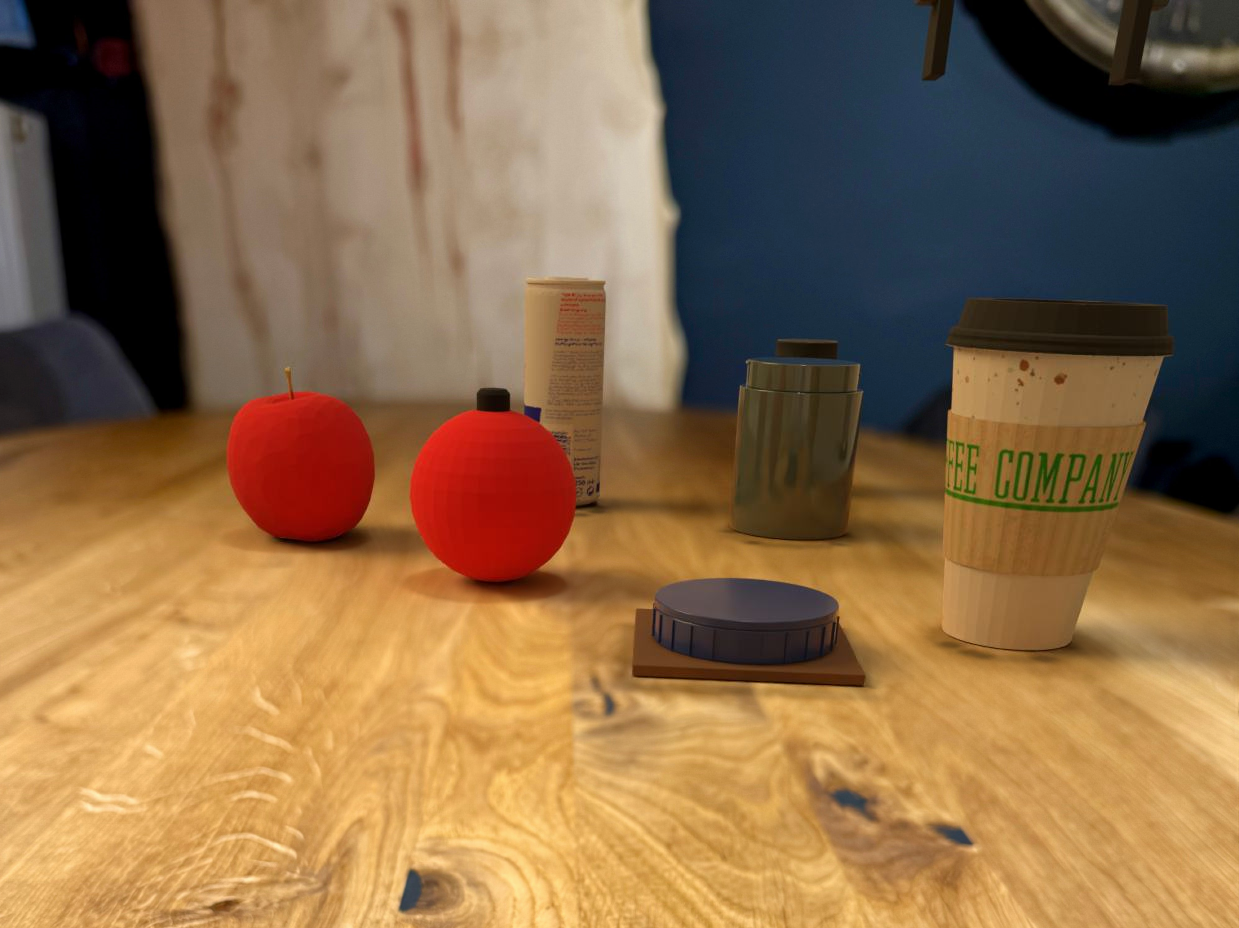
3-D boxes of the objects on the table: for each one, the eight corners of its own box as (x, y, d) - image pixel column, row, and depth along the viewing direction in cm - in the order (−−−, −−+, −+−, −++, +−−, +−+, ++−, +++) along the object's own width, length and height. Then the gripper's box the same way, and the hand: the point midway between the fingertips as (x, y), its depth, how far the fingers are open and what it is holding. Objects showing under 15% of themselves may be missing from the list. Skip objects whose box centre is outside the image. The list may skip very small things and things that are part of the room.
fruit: (206, 531, 80) (189, 361, 76) (329, 517, 86) (320, 357, 81) (280, 557, 74) (266, 373, 70) (408, 540, 80) (403, 368, 75)
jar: (838, 519, 90) (857, 358, 85) (854, 541, 83) (875, 367, 78) (726, 515, 91) (738, 354, 86) (732, 537, 83) (746, 363, 79)
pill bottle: (847, 492, 101) (865, 342, 96) (787, 497, 98) (802, 342, 93) (798, 481, 106) (813, 337, 101) (739, 485, 103) (751, 337, 98)
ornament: (603, 591, 69) (610, 394, 64) (448, 605, 65) (445, 397, 61) (532, 557, 76) (534, 378, 71) (389, 569, 72) (382, 380, 68)
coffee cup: (874, 636, 62) (920, 297, 55) (942, 599, 69) (990, 296, 63) (1081, 673, 57) (1158, 307, 50) (1131, 629, 64) (1203, 305, 58)
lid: (705, 607, 64) (708, 569, 63) (863, 635, 60) (868, 595, 59) (617, 642, 58) (619, 601, 57) (787, 677, 54) (792, 633, 53)
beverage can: (611, 499, 95) (619, 278, 88) (580, 511, 90) (586, 278, 84) (544, 492, 97) (547, 275, 90) (510, 503, 92) (511, 275, 86)
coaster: (835, 625, 63) (836, 616, 63) (864, 686, 55) (865, 674, 54) (635, 617, 64) (636, 607, 64) (631, 675, 55) (632, 664, 55)
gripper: (1319, -439, 63) (1207, 92, 73) (865, -442, 64) (816, 83, 73) (1399, -523, 56) (1263, 75, 66) (890, -525, 57) (832, 65, 67)
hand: (1027, 79), depth 70 cm, fingers open, 10 cm apart
